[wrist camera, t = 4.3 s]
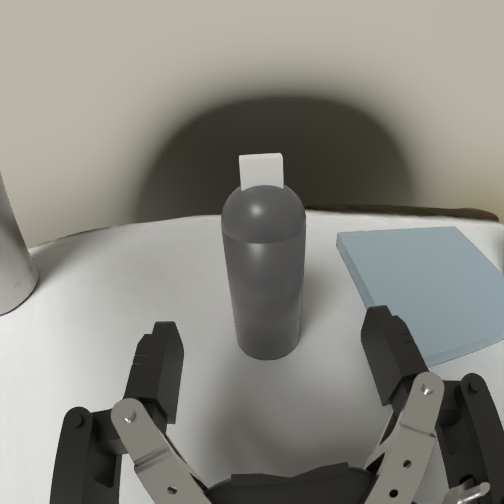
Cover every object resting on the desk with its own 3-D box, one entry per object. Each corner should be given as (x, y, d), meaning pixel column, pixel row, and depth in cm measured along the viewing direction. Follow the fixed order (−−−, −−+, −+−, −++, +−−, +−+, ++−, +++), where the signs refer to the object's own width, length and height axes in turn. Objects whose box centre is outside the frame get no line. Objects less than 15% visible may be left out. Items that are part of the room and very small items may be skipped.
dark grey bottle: (237, 362, 18) (209, 173, 11) (237, 315, 22) (217, 149, 15) (303, 356, 18) (317, 167, 11) (294, 311, 22) (297, 144, 15)
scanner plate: (395, 376, 16) (402, 363, 15) (336, 245, 29) (337, 232, 28) (528, 327, 16) (535, 316, 15) (452, 237, 29) (455, 226, 28)
